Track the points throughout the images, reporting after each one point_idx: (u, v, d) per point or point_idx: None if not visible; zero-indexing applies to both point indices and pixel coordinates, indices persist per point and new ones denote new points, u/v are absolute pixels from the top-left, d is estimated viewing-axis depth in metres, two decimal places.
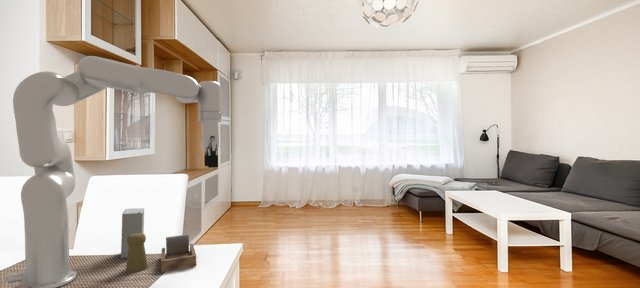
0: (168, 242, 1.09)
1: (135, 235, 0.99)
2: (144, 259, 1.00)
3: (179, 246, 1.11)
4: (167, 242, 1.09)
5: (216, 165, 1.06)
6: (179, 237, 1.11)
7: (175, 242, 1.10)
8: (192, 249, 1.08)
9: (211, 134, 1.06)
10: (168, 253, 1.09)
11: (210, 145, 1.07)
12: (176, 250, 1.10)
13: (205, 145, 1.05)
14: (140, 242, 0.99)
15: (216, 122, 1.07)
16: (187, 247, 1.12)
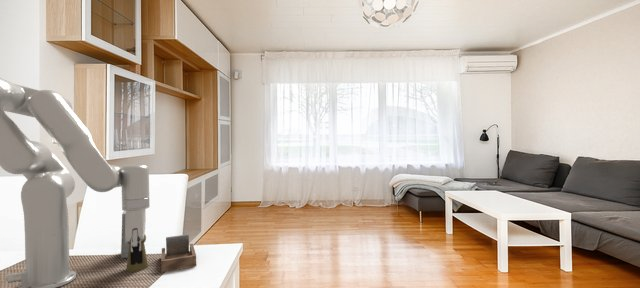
0: (168, 242, 1.09)
1: None
2: (144, 258, 1.01)
3: (179, 246, 1.11)
4: (167, 242, 1.09)
5: (140, 261, 0.99)
6: (179, 237, 1.11)
7: (175, 242, 1.10)
8: (192, 249, 1.08)
9: (133, 226, 0.96)
10: (168, 253, 1.09)
11: None
12: (176, 250, 1.10)
13: (126, 239, 0.95)
14: None
15: (140, 212, 0.97)
16: (187, 247, 1.12)
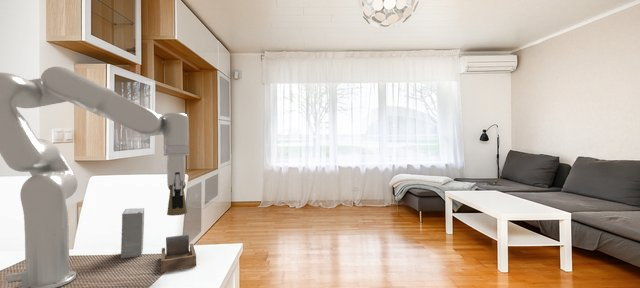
0: (168, 242, 1.09)
1: None
2: (184, 204, 1.04)
3: (179, 246, 1.11)
4: (167, 242, 1.09)
5: (181, 206, 1.02)
6: (179, 237, 1.11)
7: (175, 242, 1.10)
8: (192, 249, 1.08)
9: (176, 170, 0.99)
10: (168, 253, 1.09)
11: None
12: (176, 250, 1.10)
13: (169, 182, 0.98)
14: None
15: (182, 157, 1.00)
16: (187, 247, 1.12)
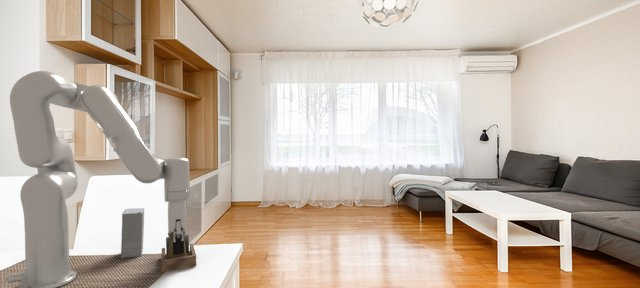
0: (168, 242, 1.09)
1: None
2: (185, 251, 1.04)
3: None
4: (167, 242, 1.09)
5: (182, 251, 1.00)
6: None
7: None
8: (192, 249, 1.08)
9: (177, 217, 0.99)
10: None
11: None
12: None
13: (170, 230, 0.98)
14: None
15: (183, 203, 1.00)
16: (187, 247, 1.12)
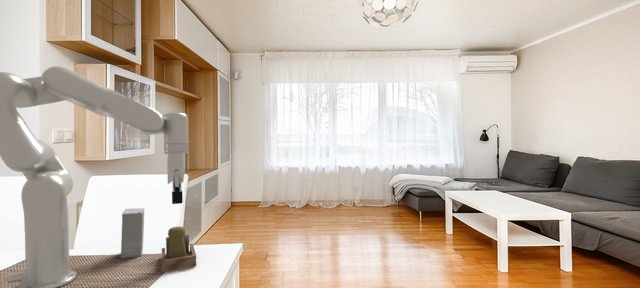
0: (168, 242, 1.09)
1: (177, 228, 1.03)
2: (185, 251, 1.05)
3: None
4: (167, 242, 1.09)
5: (180, 201, 1.07)
6: None
7: None
8: (192, 249, 1.08)
9: (175, 168, 1.03)
10: None
11: None
12: None
13: (169, 179, 1.02)
14: (182, 235, 1.03)
15: (181, 155, 1.04)
16: (187, 247, 1.12)
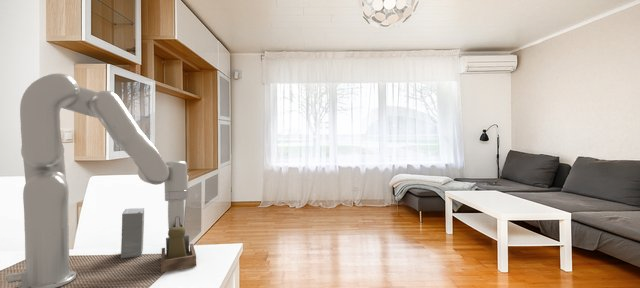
0: (168, 243, 1.09)
1: (177, 228, 1.03)
2: (185, 251, 1.05)
3: None
4: (167, 243, 1.09)
5: None
6: None
7: None
8: (192, 249, 1.08)
9: (176, 215, 1.09)
10: None
11: None
12: None
13: (170, 226, 1.08)
14: (182, 235, 1.03)
15: (181, 202, 1.10)
16: (187, 248, 1.11)
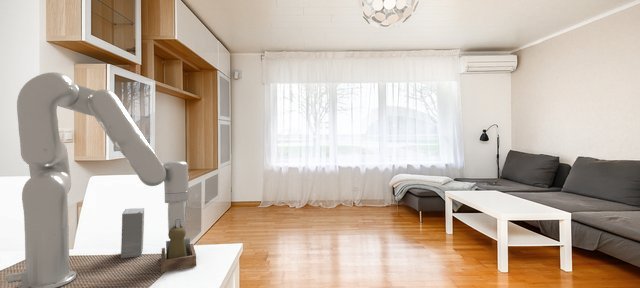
0: (168, 246, 1.05)
1: (177, 229, 1.02)
2: (185, 252, 1.03)
3: None
4: (167, 246, 1.05)
5: None
6: None
7: None
8: (192, 249, 1.08)
9: (176, 217, 1.05)
10: None
11: None
12: None
13: (170, 229, 1.04)
14: (182, 236, 1.02)
15: (182, 204, 1.06)
16: (188, 251, 1.07)
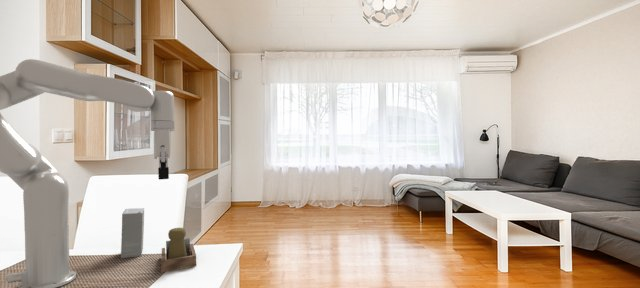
0: (168, 246, 1.05)
1: (177, 229, 1.02)
2: (185, 252, 1.03)
3: None
4: (167, 246, 1.05)
5: (167, 177, 1.11)
6: None
7: None
8: (192, 249, 1.08)
9: (161, 143, 1.06)
10: None
11: None
12: None
13: (155, 154, 1.06)
14: (182, 236, 1.02)
15: (167, 131, 1.08)
16: (188, 251, 1.08)
